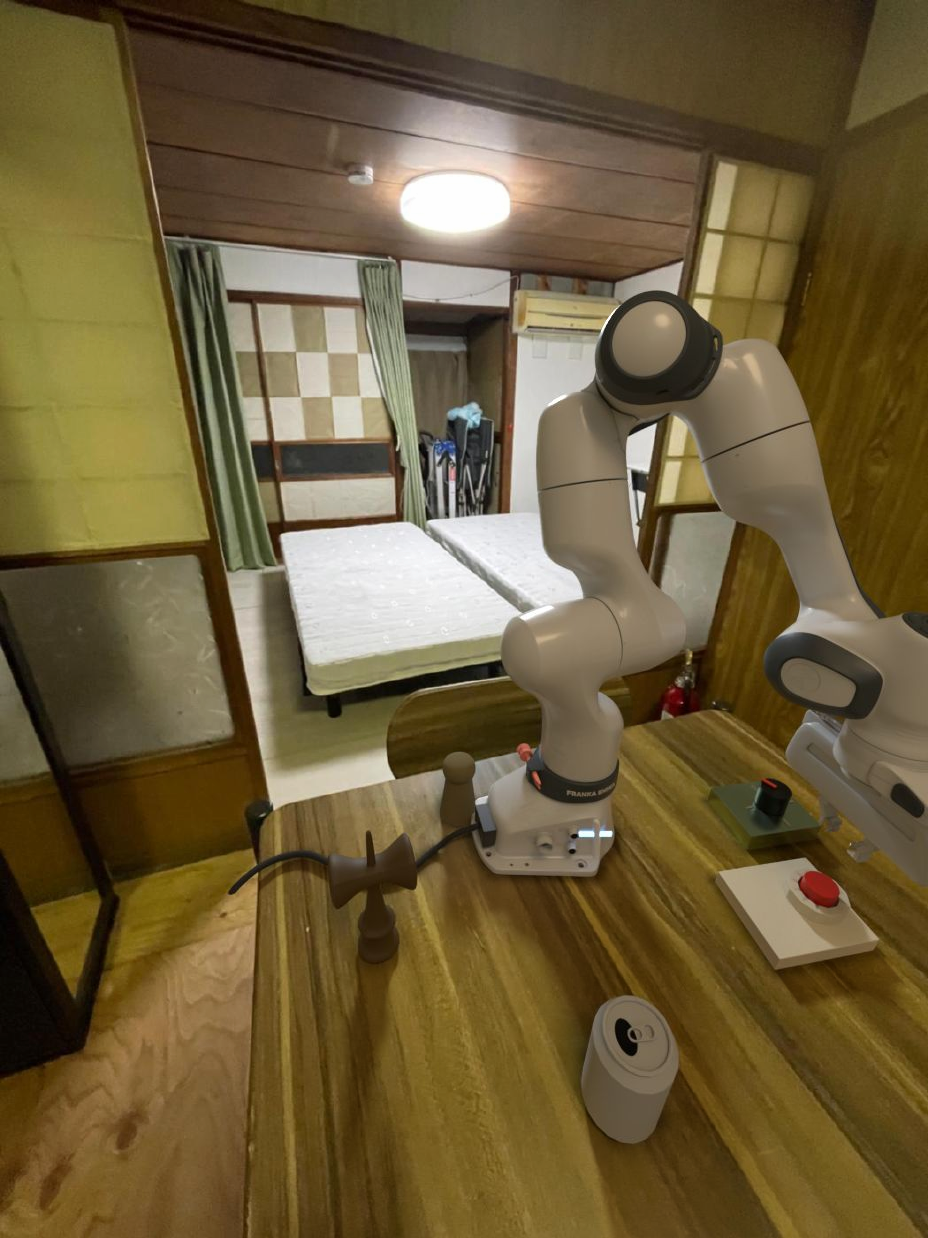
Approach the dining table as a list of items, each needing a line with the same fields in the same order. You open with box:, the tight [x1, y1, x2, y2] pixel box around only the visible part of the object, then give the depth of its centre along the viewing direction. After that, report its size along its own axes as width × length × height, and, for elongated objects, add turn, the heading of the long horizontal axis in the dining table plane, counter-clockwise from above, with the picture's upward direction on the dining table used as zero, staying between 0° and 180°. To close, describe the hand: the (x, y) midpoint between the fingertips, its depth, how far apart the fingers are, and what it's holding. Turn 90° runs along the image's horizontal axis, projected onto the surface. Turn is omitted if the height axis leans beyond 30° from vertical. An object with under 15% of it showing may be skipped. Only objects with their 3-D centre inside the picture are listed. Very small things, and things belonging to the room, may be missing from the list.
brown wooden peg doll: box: [439, 751, 477, 827], centre depth 81 cm, size 6×6×11 cm
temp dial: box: [755, 777, 793, 815], centre depth 81 cm, size 4×4×4 cm
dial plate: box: [707, 780, 822, 851], centre depth 82 cm, size 12×10×3 cm
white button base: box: [714, 857, 880, 971], centre depth 67 cm, size 14×12×4 cm
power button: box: [800, 870, 840, 907], centre depth 67 cm, size 4×4×2 cm
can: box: [580, 994, 680, 1145], centre depth 48 cm, size 8×8×12 cm
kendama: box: [326, 829, 418, 964], centre depth 60 cm, size 6×10×20 cm, turn 108°
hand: (841, 842), depth 63 cm, fingers open, 3 cm apart
